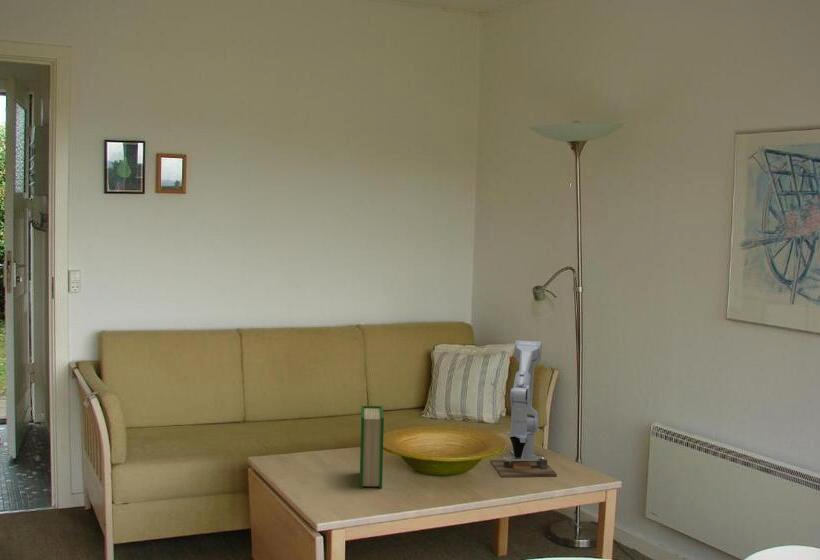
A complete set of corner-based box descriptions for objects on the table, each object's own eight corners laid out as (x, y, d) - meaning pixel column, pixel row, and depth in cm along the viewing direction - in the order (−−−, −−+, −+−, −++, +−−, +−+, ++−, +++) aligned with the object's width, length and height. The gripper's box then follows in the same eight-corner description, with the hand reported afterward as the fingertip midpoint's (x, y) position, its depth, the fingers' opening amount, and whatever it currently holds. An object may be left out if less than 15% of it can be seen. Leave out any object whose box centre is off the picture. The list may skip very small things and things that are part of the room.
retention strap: (502, 459, 325) (502, 456, 325) (542, 458, 327) (542, 455, 327) (505, 462, 321) (505, 458, 321) (544, 461, 323) (545, 458, 323)
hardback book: (382, 488, 298) (383, 417, 296) (359, 488, 298) (361, 417, 296) (380, 473, 316) (382, 405, 314) (359, 472, 315) (361, 405, 313)
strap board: (490, 462, 332) (490, 450, 332) (542, 462, 334) (543, 450, 334) (501, 477, 314) (501, 464, 314) (556, 476, 317) (557, 464, 316)
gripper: (503, 415, 329) (502, 451, 330) (512, 425, 315) (511, 463, 316) (522, 415, 330) (521, 451, 331) (532, 425, 316) (531, 462, 317)
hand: (517, 457), depth 324 cm, fingers closed
